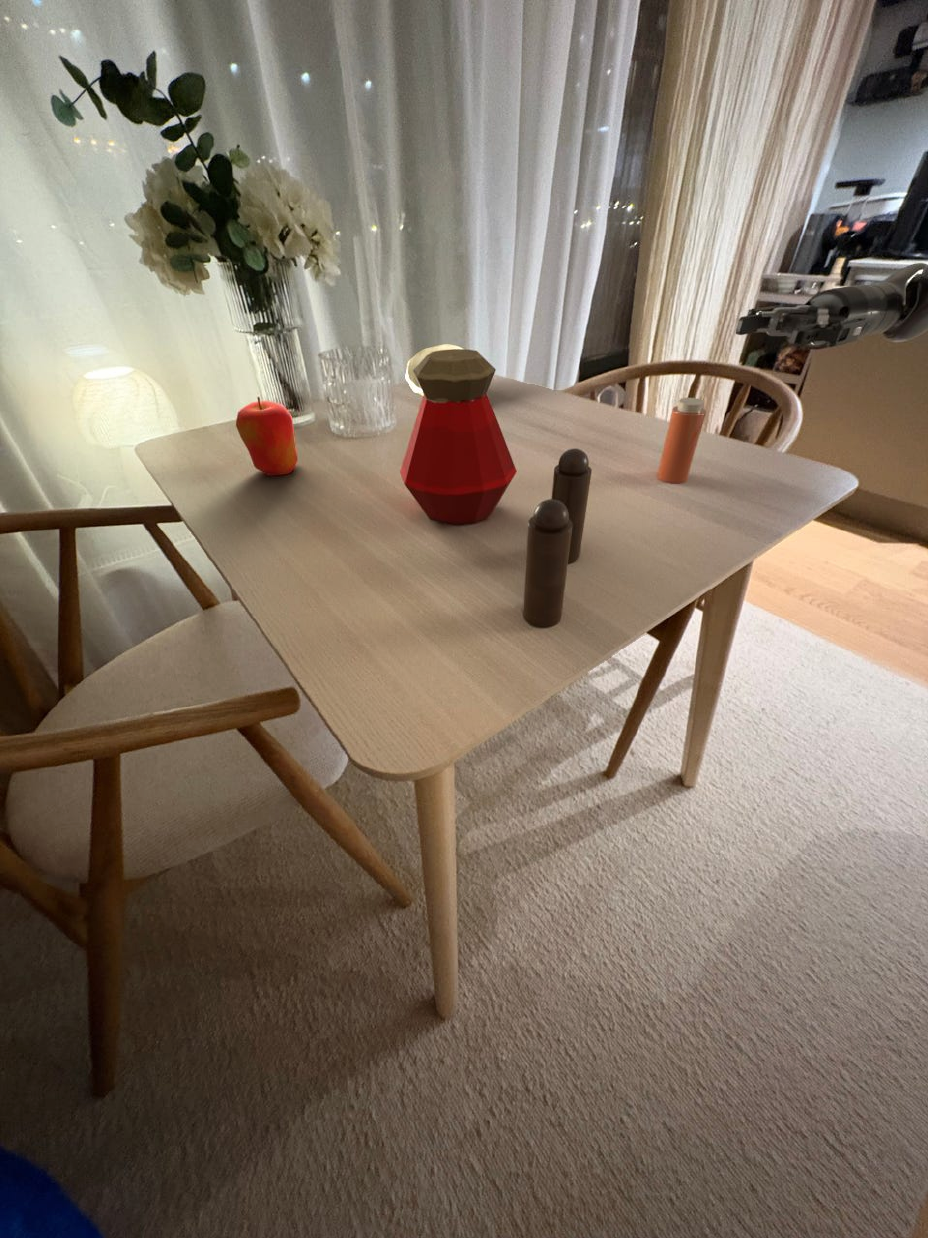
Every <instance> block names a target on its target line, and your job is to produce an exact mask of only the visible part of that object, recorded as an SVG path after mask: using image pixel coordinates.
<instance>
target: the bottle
mask: <svg viewBox="0 0 928 1238" xmlns="http://www.w3.org/2000/svg"><path fill="white" fill-rule="evenodd" d="M496 370H497V369H496V368H495V367H494V366H493V365H492V364H491V363H490V362H489V361H488V360H487V359H486V358H485V357H484V356H483V355H482V354H481V353H480V352H479V351H477V350H473V349H464V348H462V349H449V350H440V351H434V352H431V353H430V354H428V355H426V357H425V358H424V359H423V360H422V361H421V362H420V363H419V365H418V366H417V367H416V368H415V369H414V370H413V372H414V374H415V376H416V379H417V381H418V383H419V385H420V387H421V389H422V391H423V394H424V395H423V396H422V398H421V402H420V405H419V408H418V412H417V414H416V418H415V422H414V424H413V429H412V431H411V435H410V438H409V441H408V444H407V448H406V451H405V454H404V457H403V461H402V464H401V467H400V470H399V472H400V476H401V479H402V482H403V483H404V484H403V485H404V486H405V487H406V489H407V491H409V493H410V495H411V496H412V497H413V498H414V500H415V501H416V503H417V504H418V505H419V507H420V509H422V511H423V512H424V514H425V515H426V516H427V517H428V519H429V520H430V521H433V522H436V523H438V524H440V525H449V526H456V527H459V526H467V525H475V524H478V523H481V522H484V521H488V519H489V518H490V516H491V515H492V514H493V512H494V510H495V509H496V507H497V506H498V503H500V500H501V499H502V497H503V496H504V494H505V493H506V490H507V489H508V488H509V486H510V484H511V482H512V480H513V479H514V477H515V475H516V474H517V468H516V466H515V465H516V464H515V463H514V461H513V458H512V455H511V452H510V450H509V447H508V445H507V441H506V439H505V437H504V435H503V432H502V430H501V426H500V424H499V421H498V418H497V416H496V413H495V411H494V408H493V406H492V403H491V401H490V398H489V395H488V392H489V389H490V386H491V384H492V380H493V379H494V376H495V373H496Z"/></svg>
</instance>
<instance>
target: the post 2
mask: <svg viewBox="0 0 928 1238" xmlns="http://www.w3.org/2000/svg"><path fill="white" fill-rule="evenodd" d="M592 472H593V471H592V468H591V467H590V461H589V457H588V455H587V454H586V452H585V451H583V450H582V449H580V448H575V447H574V448H568V449H567V450H565V451H564V452H563V453H562V454H561V455H560V457H559V460H558V464H557V465H555V466H554V469H553V477H552V487H551V488H552V489H551V499H555V500H558V501H560V502H562V503H563V504H564V505H565V506H566V508H567V510H568V513H569V519H570V520H571V521H572V524H573V526H572V534H571V542H570V550H569V558H568V564H569V565H570V564H573V563H576V562H577V561H579V559H580V556H581V548H582V541H583V534H584V528H585V520H586V513H587V506H588V500H589V492H590V486H591V485H590V484H591V480H592Z"/></svg>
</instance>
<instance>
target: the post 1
mask: <svg viewBox="0 0 928 1238" xmlns="http://www.w3.org/2000/svg"><path fill="white" fill-rule="evenodd" d="M572 526H573V524H572V521H571V520H570V519H569V513H568V510H567V508H566V506H565V505H564V504H563V503H562V502H560V501H558V500H555V499H552V498H551V499H546V500H545V499H544V500H543V501H541V502H540V503H538V505H536V506H535V509H534V510H533V514H532V516H531V517H530V518H529V520H528V522H527V538H526V555H525V569H524V570H525V572H524V587H523V589H524V590H523V603H522V604H523V605H522V606H523V607H522V617H523V619H524V621H525V623H527V624H529V625H530V626H532V627H536V628H540V629H541V628H542V629H545V628H551V627H554V626H556V625H558V624H559V623H560V621H561V619H562V612H563V605H564V597H565V588H566V582H567V581H566V580H567V574H568V558H569V550H570V542H571V534H572Z"/></svg>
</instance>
